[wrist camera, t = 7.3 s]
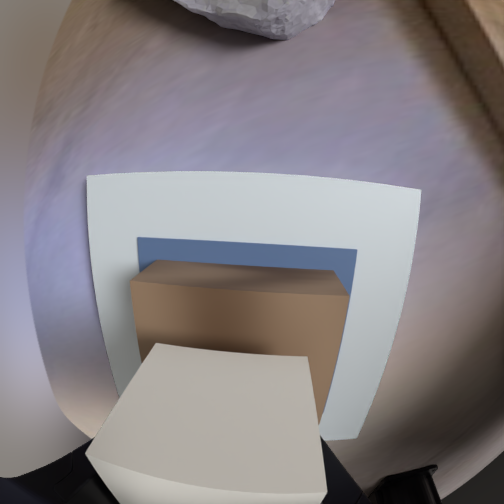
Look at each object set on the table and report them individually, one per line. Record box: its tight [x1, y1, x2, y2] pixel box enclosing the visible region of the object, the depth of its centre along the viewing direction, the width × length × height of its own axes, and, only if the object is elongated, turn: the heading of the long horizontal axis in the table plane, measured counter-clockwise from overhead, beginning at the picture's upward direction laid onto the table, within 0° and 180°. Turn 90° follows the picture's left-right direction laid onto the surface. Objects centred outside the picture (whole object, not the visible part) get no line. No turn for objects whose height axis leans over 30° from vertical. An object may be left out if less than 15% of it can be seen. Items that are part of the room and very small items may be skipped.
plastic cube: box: [85, 343, 327, 504], centre depth 7 cm, size 5×5×5 cm
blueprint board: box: [87, 171, 421, 441], centre depth 13 cm, size 16×16×4 cm
